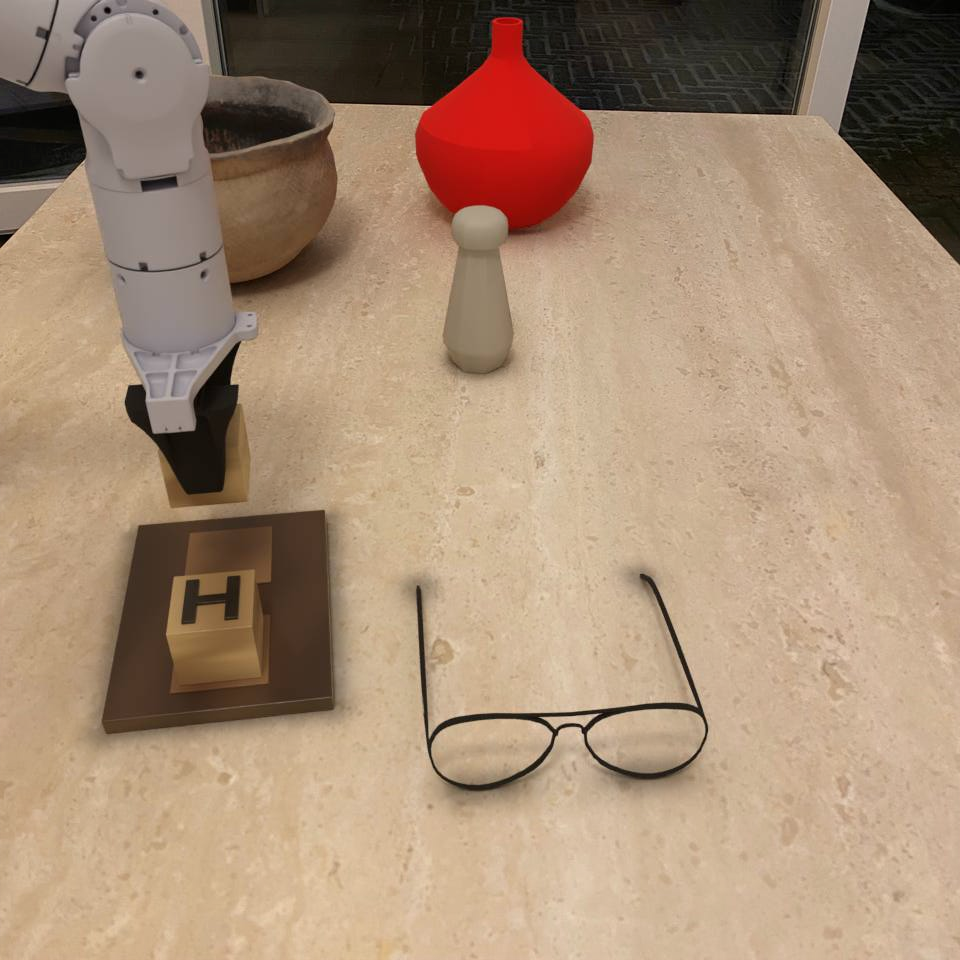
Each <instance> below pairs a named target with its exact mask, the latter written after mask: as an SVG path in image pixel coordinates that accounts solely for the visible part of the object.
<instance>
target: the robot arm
mask: <svg viewBox="0 0 960 960" xmlns="http://www.w3.org/2000/svg"><path fill="white" fill-rule="evenodd" d="M210 74H211V67H210V65H209V64H208V63H205V62H203V56H202V53H201V50H200V46H199V44H198V42H197V40H196V38H195V36H194V35H193V33H192V32H191V30H190V29H189V28H188V26H187V25H186V23H184V21H183V20H182V19H181V18H180V17H179V15H178V14H177V13H176V12H175V11H174V10H173V8H172V7H171V6H170V5H169V4H168V3H167V2H166V0H0V78H1V79H3V80H6V81H9V82H11V83H14V84H17V85H19V86H21V87H25V88H26V89H29V90H32V91H34V92H37V93H39V92H40V93H45V92H46V93H47V92H51V93H53V92H56V93H63V94H66V95H68V97H69V99H70V100H71V102H72V104H73V106H74V108H75V109H76V111H77V114H78V115H77V116H78V118H79V123H80V128H81V132H82V136H83V140H84V145H85V150H86V155H85V158H84V170H85V174H86V178H87V182H88V186H89V190H90V195H91V198H92V203H93V207H94V211H95V215H96V220H97V224H98V229H99V233H100V237H101V241H102V245H103V246H102V247H103V250H104V254H105V259H106V262H107V267H108V270H109V276H110V280H111V283H112V289H113V293H114V297H115V301H116V305H117V309H118V312H119V318H120V321H121V328H120V332H119V335H120V339H121V342H122V343H121V344H122V347H123V350H124V352H125V354H126V356H127V358H128V359H129V362H130V364H131V365H132V368H133V370H134V371H135V373H136V376H137V377H138V379H139V381H140V384H128V385H127V389H126V393H125V398H124V407H125V411H126V414H127V416H128V419H129V420H130V422H131V423H132V424H134V425H135V426H136V427H138V428H139V429H140V430H142V431H143V432H144V433H145V434H146V435H147V436H148V437H149V438H150V439H151V440H152V441H153V442H154V444H155V445H156V446H157V448H159V449H160V450H161V451H162V453H163V455H164V456H165V458H166V460H167V461H168V463H169V465H170V467H171V469H172V471H173V472H174V474H175V476H176V478H177V480H178V481H179V483H180V485H181V486H182V488H183V490H184V491H185V492H186V494H188V495H191V494H203V493H215V492H221V491H223V487H224V481H225V470H226V433H227V429H228V426H229V423H230V421H231V419H232V417H233V414H234V411H235V408H236V405H237V404H238V402H239V401H238V400H239V390H240V384H238V383H237V384H236V383H235V384H232V375H233V368H234V365H235V361H236V356H237V354H238V352H239V349H240V345H241V343H242V342H248V341H254V340H255V339H257V338H258V336H259V334H260V333H259V332H260V322H259V316H258V313H257V312H255V311H239V310H236V309H235V308H234V302H233V295H232V289H231V283H230V282H229V276H228V270H227V263H226V258H225V251H224V245H223V237H222V231H221V225H220V218H219V212H218V206H217V199H216V193H215V187H214V181H213V174H212V168H211V161H210V155H209V153H208V150H207V149H206V147H205V146H204V139H203V122H202V118H201V114H200V113H201V111H202V109H203V107H204V105H205V102H206V100H207V96H208V92H209V87H210Z"/></svg>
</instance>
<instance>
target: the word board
mask: <svg viewBox="0 0 960 960" xmlns="http://www.w3.org/2000/svg"><path fill="white" fill-rule="evenodd" d="M327 529H328V527H327V514H326V510H325V509H317V510H315V509H314V510H304V511H291V512H280V513H269V514H258V515H257V514H256V515H245V516H232V517H221V518H220V517H219V518H209V519H208V518H207V519H195V520H186V521H185V520H184V521H172V522H161V523H149V524H139V525H138V526H137V531H136V536H135V542H134V546H133V553H132V556H131V557H132V558H131V562H130V563H131V564H130V568H129V574H128V579H127V584H126V588H125V589H126V590H125V596H124V599H123V606H122V610H121V616H120V621H119V627H118V632H117V638H116V642H115V649H114V654H113V659H112V664H111V670H110V675H109V681H108V685H107V690H106V695H105V701H104V707H103V712H102V717H101V725H102V727H103V730H104V733H105V734H113V733H123V732H132V731H141V730H151V729H160V728H169V727H170V728H171V727H178V726H187V725H188V726H189V725H197V724H205V723H206V724H207V723H216V722H225V721H234V720H235V721H236V720H244V719H253V718H262V717H271V716H280V715H282V716H283V715H291V714H300V713H308V712H318V711H319V712H320V711H327V710H333V709H334V683H333V681H334V680H333V679H334V678H333V659H332V658H333V655H332V654H333V653H332V631H331V629H332V628H331V611H330V610H331V608H330V607H331V604H330V583H329V582H330V581H329V580H330V577H329V560H328V559H329V558H328V557H329V555H328V532H327V531H328V530H327ZM243 570H255V573H256V579H257V585H258V590H259V596H260V602H261V608H262V613H263V619H264V622H263V652H262V677H258V678H248V679H238V680H229V681H219V682H209V683H199V684H190V685H179V682H178V679H177V675H176V671H175V667H174V663H173V660H172V656H171V652H170V648H169V644H168V641H167V637H166V631H167V623H168V616H169V609H170V602H171V594H172V587H173V580H174V577H177V576H188V575H199V574H210V573H221V572H232V571H243Z"/></svg>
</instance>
